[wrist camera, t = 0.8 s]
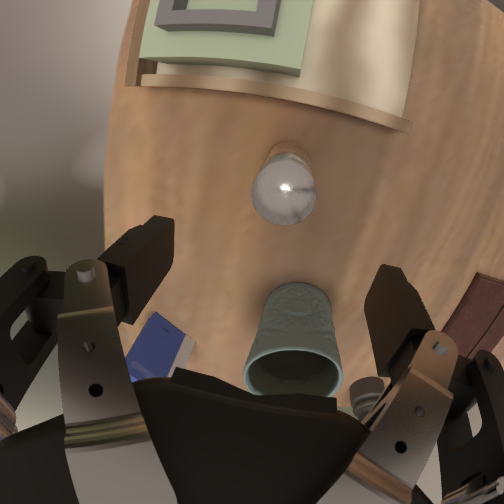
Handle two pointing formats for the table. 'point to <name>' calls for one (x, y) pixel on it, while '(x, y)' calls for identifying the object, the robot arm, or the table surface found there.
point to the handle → (285, 185)
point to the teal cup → (295, 345)
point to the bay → (316, 62)
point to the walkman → (158, 350)
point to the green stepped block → (228, 33)
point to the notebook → (478, 317)
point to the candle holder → (365, 395)
